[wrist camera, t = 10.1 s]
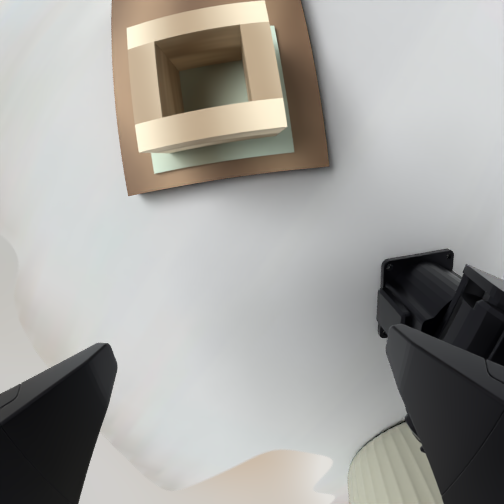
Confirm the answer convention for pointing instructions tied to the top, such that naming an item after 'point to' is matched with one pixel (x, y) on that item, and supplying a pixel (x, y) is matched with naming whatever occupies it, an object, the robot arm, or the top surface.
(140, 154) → the board
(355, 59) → the top surface
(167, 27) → the collar
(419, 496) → the canister
